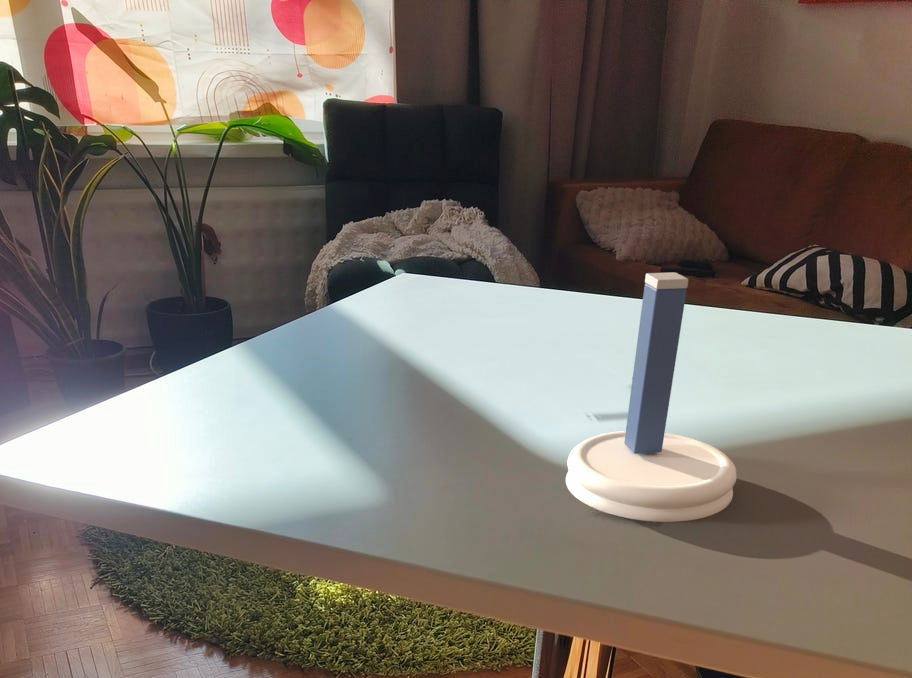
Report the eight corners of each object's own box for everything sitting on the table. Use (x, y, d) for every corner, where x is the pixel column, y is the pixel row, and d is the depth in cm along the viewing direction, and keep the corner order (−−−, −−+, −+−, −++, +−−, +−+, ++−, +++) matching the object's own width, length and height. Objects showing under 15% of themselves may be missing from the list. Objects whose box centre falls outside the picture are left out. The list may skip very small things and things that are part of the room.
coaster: (530, 502, 56) (534, 449, 54) (640, 466, 61) (647, 417, 59) (648, 564, 50) (658, 506, 48) (761, 519, 55) (773, 465, 53)
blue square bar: (651, 441, 56) (675, 272, 50) (662, 452, 54) (689, 278, 49) (623, 443, 55) (645, 273, 50) (634, 454, 54) (657, 279, 48)
